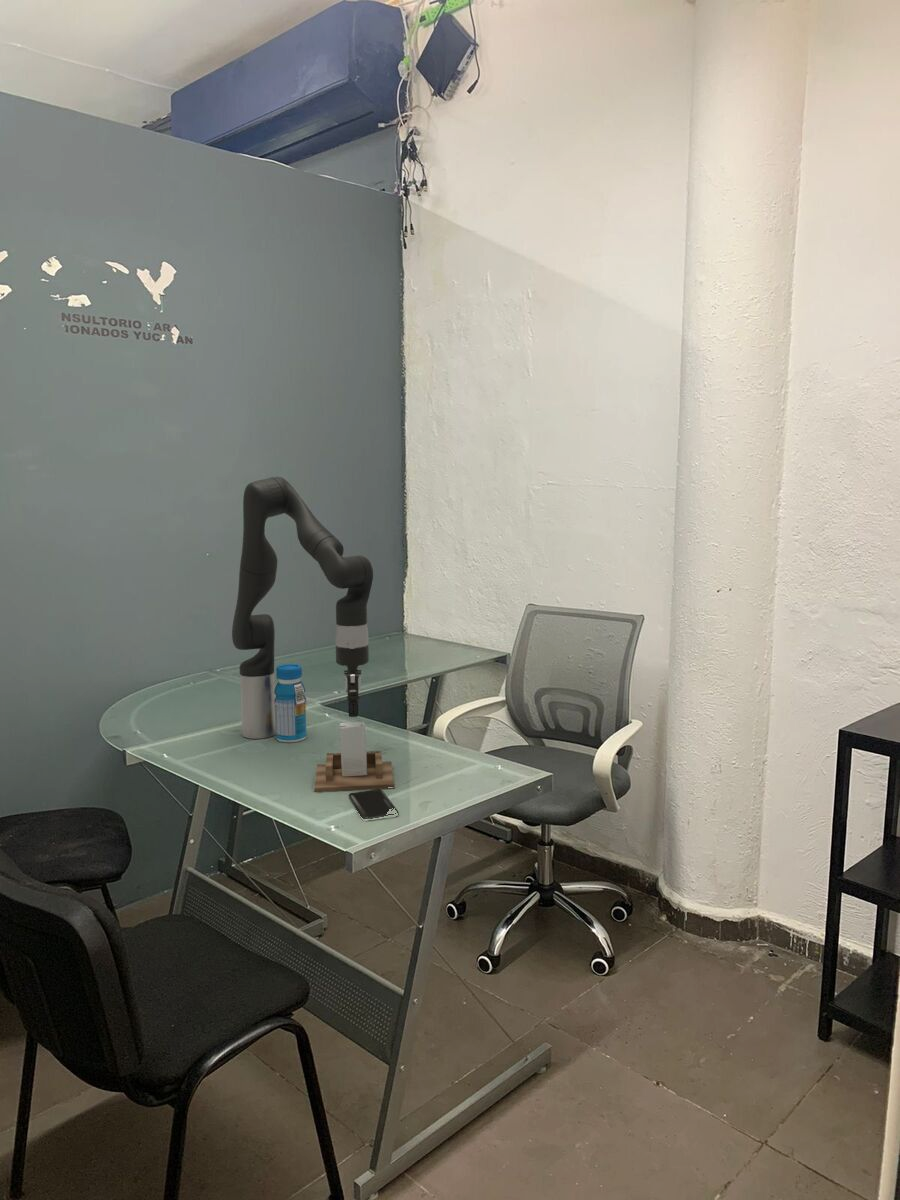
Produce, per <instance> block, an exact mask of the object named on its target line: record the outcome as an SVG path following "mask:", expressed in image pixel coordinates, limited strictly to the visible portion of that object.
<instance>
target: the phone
mask: <svg viewBox="0 0 900 1200" xmlns="http://www.w3.org/2000/svg"><path fill="white" fill-rule="evenodd" d="M348 799H349V801H350V803H351V804H352V806H353V805H354V806H353V807H355V808H356V809H355V808H354V809H355V811H356V810H357V811H358V812H357V811H356V812H357V814H358V813H359V814H360V816H361V817H362V818H363V819H373V818H379V817H384V816H388V815H394V814H388V815H386V814H387V812H388V811H389V809H392V808H393V809H394V808H395V810H396V811H397V813H398V814H399V811H398V809H397V808H396V806H395V805H394V804H393V802H392V801H391V800H390V798H389V797H388V796H387V794H386V793H385V792H384V789H371V790H361V791H356V792H350V793H348ZM393 809H392V810H393ZM392 810H391V811H392ZM359 814H358V815H359ZM395 814H396V813H395ZM360 816H359V817H360ZM361 817H360V818H361Z"/></svg>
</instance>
